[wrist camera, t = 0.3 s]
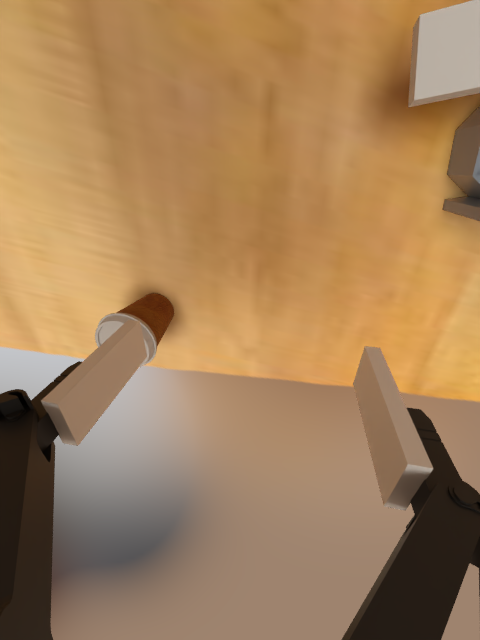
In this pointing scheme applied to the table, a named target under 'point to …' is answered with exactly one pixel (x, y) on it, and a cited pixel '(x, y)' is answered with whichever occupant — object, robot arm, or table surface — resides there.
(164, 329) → the disposable coffee cup
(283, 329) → the table surface
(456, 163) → the cup
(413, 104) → the lever
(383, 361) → the robot arm
